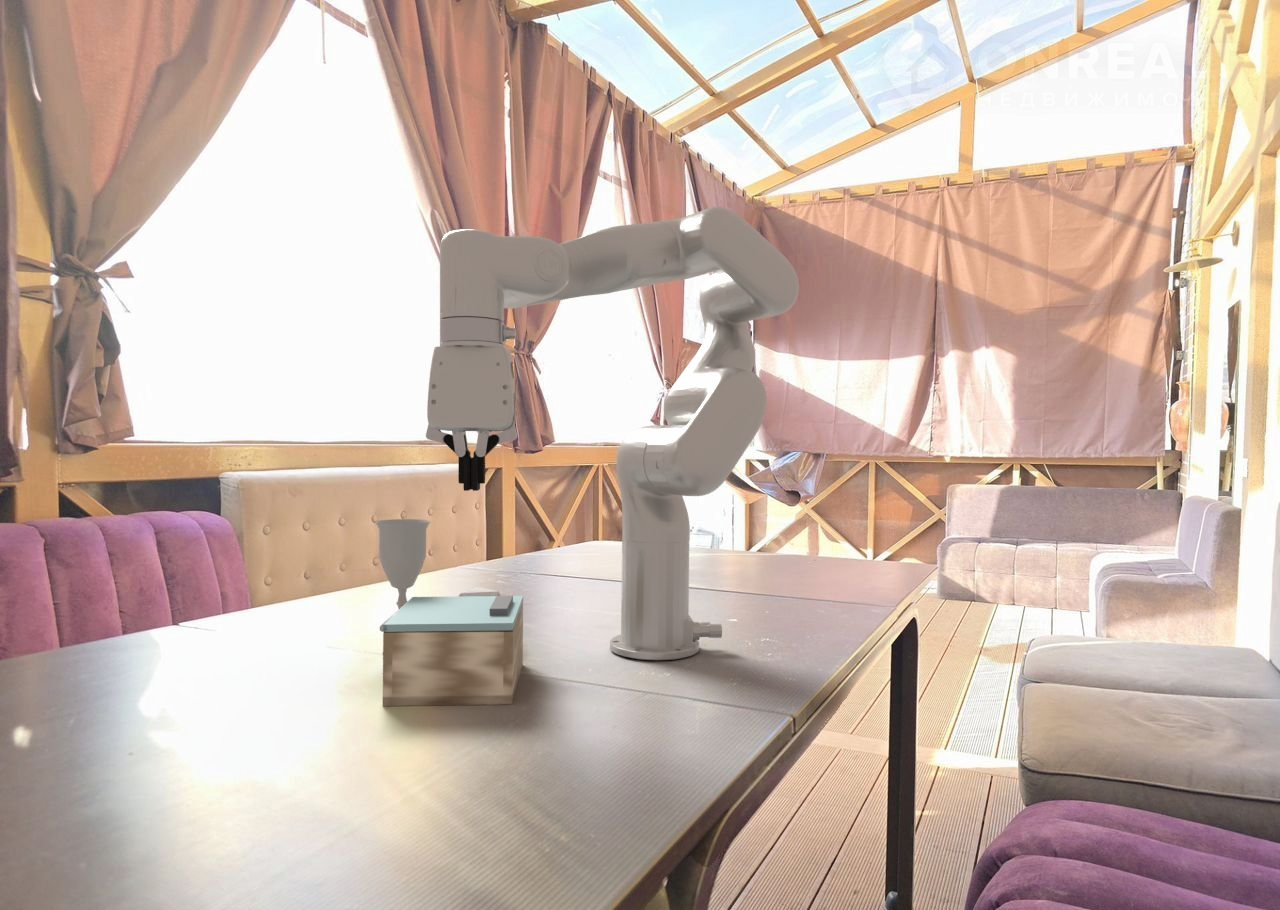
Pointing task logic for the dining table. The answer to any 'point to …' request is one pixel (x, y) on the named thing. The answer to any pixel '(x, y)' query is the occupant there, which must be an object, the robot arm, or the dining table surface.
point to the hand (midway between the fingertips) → (471, 489)
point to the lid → (455, 614)
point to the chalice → (402, 552)
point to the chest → (452, 666)
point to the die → (479, 592)
